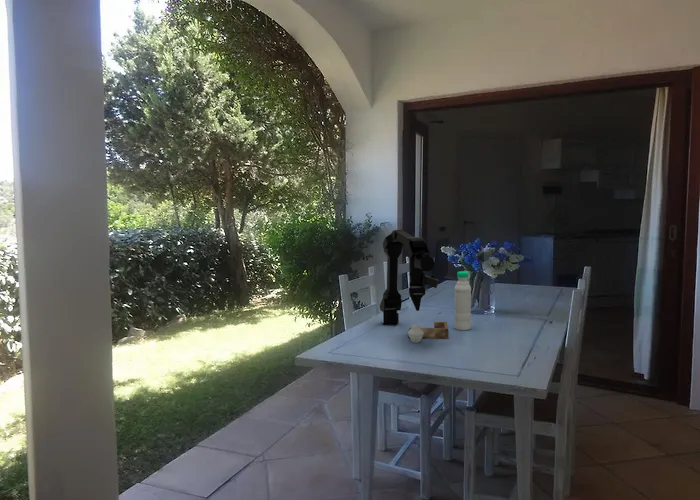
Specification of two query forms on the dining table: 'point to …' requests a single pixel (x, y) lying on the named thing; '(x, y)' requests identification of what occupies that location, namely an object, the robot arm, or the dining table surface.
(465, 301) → the white milk bottle
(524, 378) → the dining table surface
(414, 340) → the muffin
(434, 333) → the channel bracket
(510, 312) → the dining table surface
